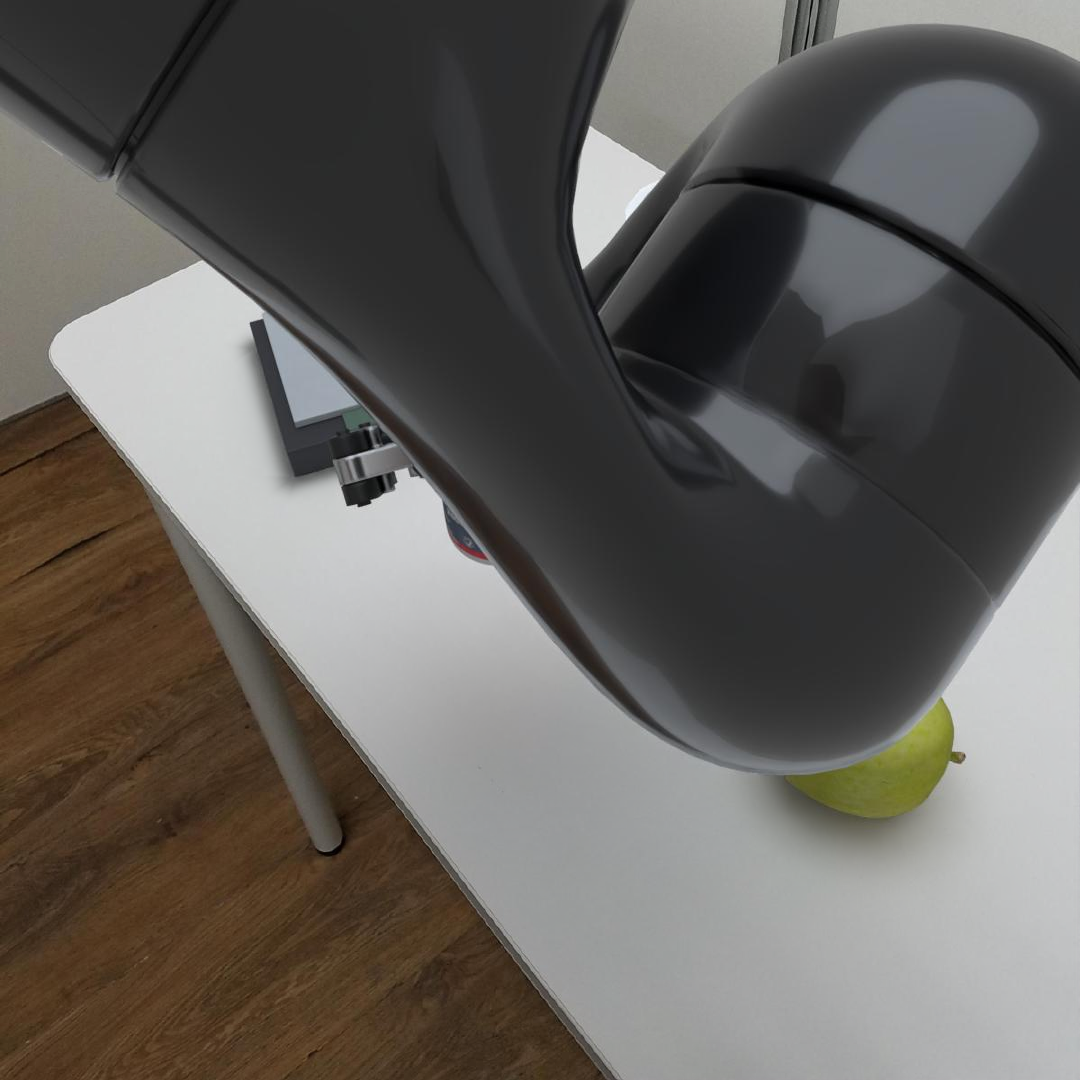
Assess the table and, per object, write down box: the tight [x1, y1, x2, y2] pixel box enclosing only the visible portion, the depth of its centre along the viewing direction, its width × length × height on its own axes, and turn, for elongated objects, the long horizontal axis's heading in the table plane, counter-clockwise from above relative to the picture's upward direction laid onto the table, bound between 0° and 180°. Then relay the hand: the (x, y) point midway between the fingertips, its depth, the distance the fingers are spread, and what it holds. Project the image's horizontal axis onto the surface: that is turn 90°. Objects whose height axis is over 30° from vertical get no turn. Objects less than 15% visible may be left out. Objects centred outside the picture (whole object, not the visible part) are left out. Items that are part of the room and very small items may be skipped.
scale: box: [249, 312, 386, 477], centre depth 74 cm, size 14×13×3 cm
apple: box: [783, 696, 967, 819], centre depth 54 cm, size 8×9×8 cm
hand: (480, 421), depth 49 cm, fingers closed on pill bottle, 5 cm apart
